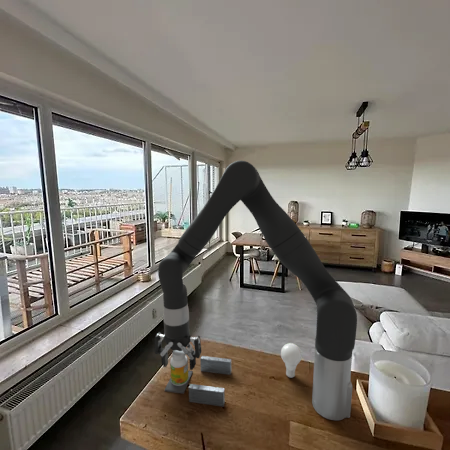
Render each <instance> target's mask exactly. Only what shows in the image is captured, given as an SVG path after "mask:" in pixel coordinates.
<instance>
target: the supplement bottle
mask: <svg viewBox="0 0 450 450" xmlns="http://www.w3.org/2000/svg"><path fill="white" fill-rule="evenodd" d="M171 356H172V357H171V358H170V361H169V363H170V364H169V365H170V378H171V382H172V384H173V385H176V386H181V385H184V384H185V383H186V382H187V381H188V371H189V357H188V355H186V354H185V353H184V352H183V351H178V350H175V351H174V350H172V353H171Z"/></svg>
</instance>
